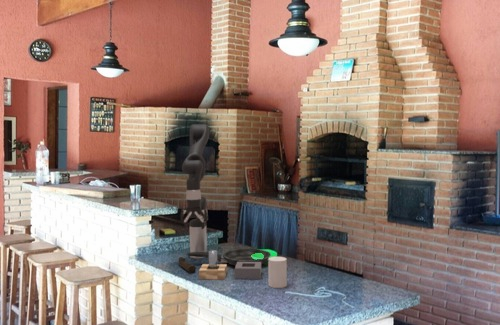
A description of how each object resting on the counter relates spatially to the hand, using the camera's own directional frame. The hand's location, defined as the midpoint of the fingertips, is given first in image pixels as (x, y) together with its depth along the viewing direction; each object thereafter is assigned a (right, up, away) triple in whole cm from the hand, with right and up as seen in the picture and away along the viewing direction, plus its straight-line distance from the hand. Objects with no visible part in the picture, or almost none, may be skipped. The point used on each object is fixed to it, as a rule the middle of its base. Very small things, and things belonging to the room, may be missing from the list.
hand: (194, 229), depth 264 cm
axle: (+11, -20, -21) cm, 31 cm away
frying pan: (+20, -18, 0) cm, 28 cm away
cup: (+41, -21, -37) cm, 59 cm away
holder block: (+28, -19, -21) cm, 40 cm away
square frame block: (+11, -20, -21) cm, 31 cm away
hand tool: (-4, -19, -9) cm, 22 cm away
